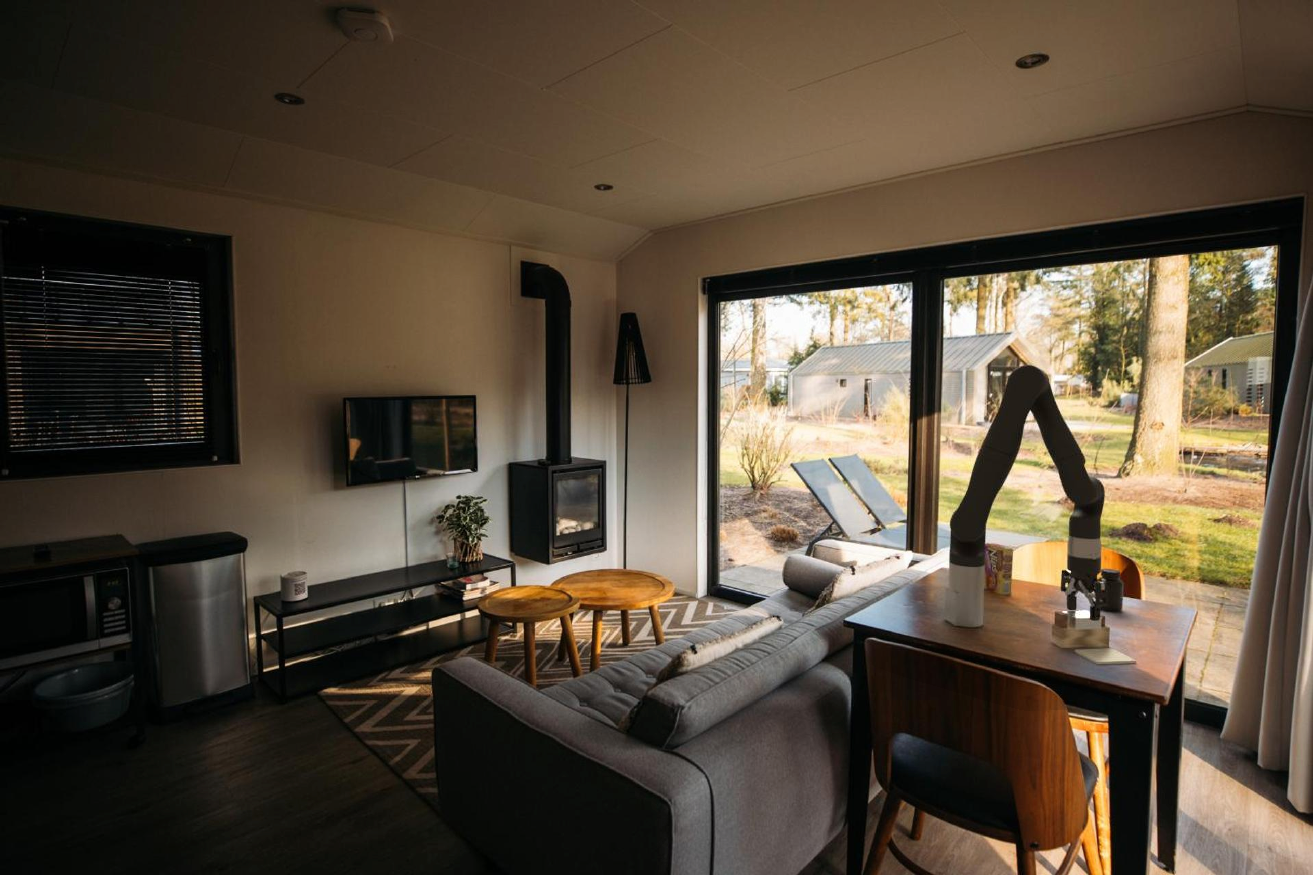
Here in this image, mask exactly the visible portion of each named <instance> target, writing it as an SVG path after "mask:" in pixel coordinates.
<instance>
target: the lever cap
mask: <svg viewBox="0 0 1313 875" xmlns="http://www.w3.org/2000/svg"><path fill="white" fill-rule="evenodd" d="M1061 612H1063V613H1065V614H1067V615H1068V624H1067V626H1069V627H1071V628H1073V629H1075V630H1079V629H1101V617H1100V620H1098V621H1092V620H1090V611H1089V610H1068V611H1067V610H1065V611H1062V610H1061Z"/></svg>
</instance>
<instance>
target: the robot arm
mask: <svg viewBox="0 0 1313 875" xmlns="http://www.w3.org/2000/svg"><path fill="white" fill-rule="evenodd" d="M997 410H998V411H997V413H996V414H995V417H994V419H993V420H992V423H991V425H990V426H989V428H988V431H987V432H986V435H985V436H984V440H983V441H982V443H981V446H980V449H979V451H978V453H977V455H976V458H975V462H974V464H973V468H972V471H971V475H970V479H969V481H968V486H967V488H966V492H965V494H964V495H963V498H962V499H961V502H960V503H959V505H958V506H957V508H956V510H954V512H952V515H951V517H950V521H949V529H950V542H949V554H948V555H949V556H948V557H949V559H948V562H949V563H948V586H946V587H945V588H944V590H945V591H944V592H945V593H944V620H945V621H947V622H949V623H950V624H952V625H953V626H955V627H964V628H979V627H982V626H983V623H984V620H983V619H984V597H985V596H984V594H985V593H984V592H985V588H984V567H985V544H986V538H987V536H986V534H987V529H986V528H987V523H988V519H989V515H990V513H991V510H992V506H993V504H994V502H995V499H996V498H997V496H998V494H999V492H1000V491H1001V489H1002V487H1003V486H1004V484H1005V482H1006V480H1007V478H1008V477H1009V475H1010V473H1011V470H1012V468H1013V466H1014V465H1015V464H1014V463H1015V462H1016V459H1017V457H1018V454H1019V452H1020V449H1021V445H1022V441H1023V435H1024V431H1025V430H1024V429H1025V424H1026V421H1027V418H1028V416H1029V413H1030V412H1031V414H1032V416H1033V417H1034V419H1035V422H1036V424H1037V426H1038V429H1039V431H1040V435H1041V438H1042V440H1043V443H1044V446H1045V448H1046V450H1047V453H1048V454H1049V456H1050V458H1051V460H1052V462H1053V464H1054V465H1055V467H1056V469H1057V473H1058V477H1059V480H1060V484H1061V486H1062V489H1063V492H1064V493H1065V494H1064V495H1065V496H1066V497H1067V499H1068V500H1069V501H1070V502H1072V503H1073V504H1074V505H1073V512H1072V514H1071V515H1070V517H1069V521H1068V540H1067V546H1066V547H1067V548H1066V549H1067V552H1066V554H1067V555H1066V556H1067V557H1066V558H1067V560H1066V562H1067V563H1066V569H1062V570H1061V578H1060V591H1061V592H1064V594H1065V596H1066V610H1068V611H1077V607H1078V606H1077V601H1078V600H1077V599H1078V598H1077V594H1078V593H1079V592H1080V593H1081V594H1083V595H1084V597H1085V598H1086V599H1088V602H1089V604H1090V606H1089V612H1090V620H1092V621H1098V620H1100V615H1101V612H1102V610H1101V606H1107V605H1108V587H1107V582H1099V581H1098V575H1099V574H1101V569H1102V541H1101V537H1102V536H1101V533H1102V532H1101V529H1102V528H1101V527H1102V526H1101V523H1102V522H1101V519H1102V518H1101V517H1102V513H1103V509H1104V505H1105V498H1106V494H1105V493H1106V491H1105V487H1104V484H1103V483H1102V481H1101V480H1100V479H1098V478H1097V477H1095V476H1090V475H1089V474H1088V471H1087V469H1086V466H1085V464H1086V462H1087V461H1086V457H1085V455H1084V453H1083V451H1082V449H1081V447H1080V445H1079V444H1078V442H1077V439H1076V438H1075V437H1074V435H1073V433H1072V431H1071V429H1070V427H1069V426H1068V424H1067V423H1066V421H1065V418H1064V417H1063V415H1062V413H1061V411H1060V409H1059V406H1058V403H1057V401H1056V398H1055V396H1054V392H1053V389H1052V386H1051V382H1050V378H1049V376H1048V374H1047V372H1045V371H1044V370H1043V369H1042V368H1039V367H1038V366H1036V365H1032V364H1022V365H1020V366H1017V367H1016V368H1014V369H1013V371H1011V372H1010V374H1009V376H1008V378H1007V380H1006V384H1005V388H1004V391H1003V395H1002V397H1001V402H1000V405H999V407H998V409H997ZM1101 596H1103V601H1101V599H1100V598H1101ZM1094 599H1095V600H1094Z"/></svg>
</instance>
